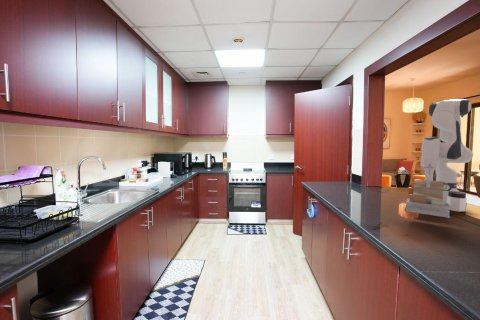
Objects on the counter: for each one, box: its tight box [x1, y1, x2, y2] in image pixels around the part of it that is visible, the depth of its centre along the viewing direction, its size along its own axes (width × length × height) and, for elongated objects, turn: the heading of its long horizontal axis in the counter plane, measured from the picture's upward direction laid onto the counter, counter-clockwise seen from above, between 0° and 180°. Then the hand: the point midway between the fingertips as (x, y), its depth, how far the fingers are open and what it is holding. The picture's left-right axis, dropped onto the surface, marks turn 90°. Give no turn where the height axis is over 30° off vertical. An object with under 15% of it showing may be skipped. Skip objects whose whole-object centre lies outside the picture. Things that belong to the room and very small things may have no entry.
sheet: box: [413, 178, 444, 203], centre depth 145 cm, size 2×14×18 cm, turn 52°
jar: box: [447, 191, 468, 212], centre depth 147 cm, size 9×8×12 cm
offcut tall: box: [409, 193, 427, 203], centre depth 145 cm, size 2×8×9 cm, turn 52°
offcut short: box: [431, 200, 445, 206], centre depth 140 cm, size 2×6×7 cm, turn 52°
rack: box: [405, 198, 451, 219], centre depth 144 cm, size 16×20×6 cm
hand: (428, 186), depth 145 cm, fingers closed on sheet, 2 cm apart
